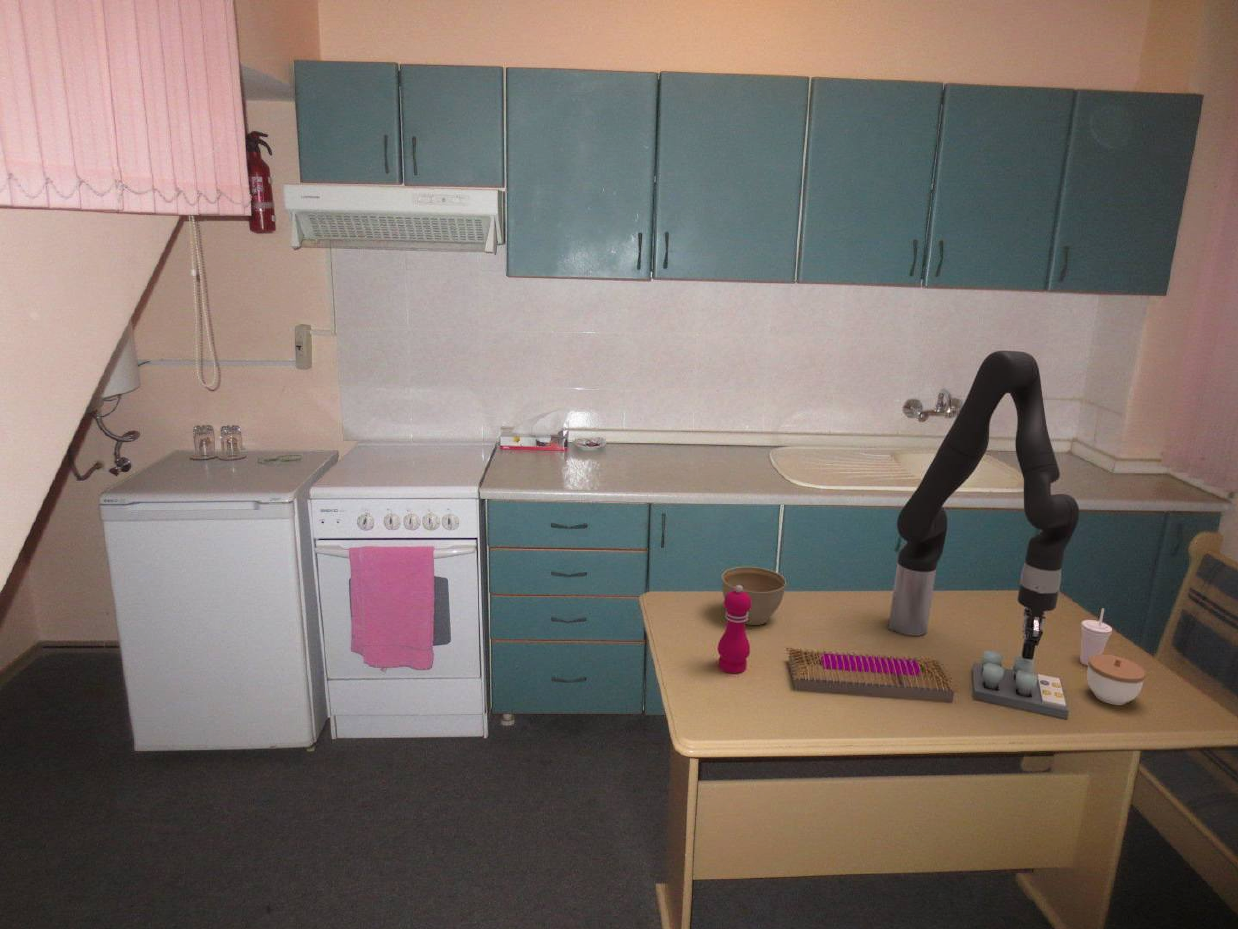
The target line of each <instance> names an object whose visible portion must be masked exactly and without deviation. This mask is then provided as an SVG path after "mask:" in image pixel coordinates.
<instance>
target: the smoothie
mask: <svg viewBox="0 0 1238 929" xmlns="http://www.w3.org/2000/svg"><path fill="white" fill-rule="evenodd" d="M1104 613H1105V608H1101V611H1100V616H1099V620H1098V621H1097V620H1095V619H1085V620H1083V621H1081V624H1080V627H1081V640H1080V641H1081V644H1080V659H1079V660H1080V663H1081V664H1083V665H1084V666H1087V667H1088V665H1089V664H1088V662H1089V658H1090V657H1091V656H1093V655H1098V654H1104V650H1105V648H1106V645H1107V643H1108V640H1109V637H1110V635H1112V634H1113V627H1111V626H1110V625H1108V624H1107V623H1105V622H1103V618H1104Z"/></svg>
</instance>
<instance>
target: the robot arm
mask: <svg viewBox="0 0 1238 929" xmlns="http://www.w3.org/2000/svg"><path fill="white" fill-rule="evenodd" d="M1040 373H1041V372H1040V368H1039V365H1038V363H1037V360H1036V359H1035V357H1034V356H1032V355H1031V353H1028V352H1024V351H1020V350H1019V351H1016V350H996V351H993V352H991V353H990V354H988V355H987V356H986V357H985V359H983V362H981V364H980V366H979V368H978V369H977V372H976V375H975V378H974V379H973V382H972V384H971V386H970V389H969V392H968V394H967V396H966V398H965V401H964V403H963V405H962V406H961V408H960V409H959V412H958V414H957V416H956V418H955V419H954V421H953V424H952V425H951V427H950V429H949V430H948V432H947V434H946V435H945V437H944V439H943V440H942V442H941V444H940V446H939V447H938V449H937V452H936V454H935V456H934V458H933V459H932V461H931V463H930V464H929V467H927V470H926V472H925V474H924V475H923V478H922V480H921V481H920V483H919V484H918V486H917V488H916V490H915V491H914V493H913V494H912V495H911V497H910V498H909V499H908V501H907V502H906V503H905V505H904V506H903V507H902V509H901V510H900V512H899V514H898V517H897V520H896V528H897V531H898V534H899V536H900V538H902V539H903V540H904V541H905V542H906V543H905V545H904V546H903V547H902V548H901V549H900V551H899V552H898V557H897V563H896V564H897V565H896V572H895V578H894V585H893V591H892V592H893V593H892V598H891V605H890V613H889V619H888V627H887V628H888V630H892V631H894V632H895V633H896V632H897V633H899V634H901V635H906V636H912V637H917V636H918V637H919V636H924V635H925V634H926V633H927V632H928V626H929V621H930V613H931V607H932V600H933V593H934V586H935V580H936V573H937V568H938V563H939V561H940V559H941V558H942V556H943V550H944V546H945V540H946V537H947V531H948V525H949V524H948V516H947V513H946V511H945V509H944V507H943V506H944V505H945V503H946V502H947V500H948V499H949V498H950V497H951V496H952V495H953V494H954V493H955V492H956V491H957V490H958V489H959V488H960V487H961V486H962V485H963V484H964V483H965V482H966V481H967V480H968V479H969V477H971V475H973V473H974V472H975V470H976V468H978V465H979V464H980V462H981V460H982V459H983V457H984V455H985V453H986V452H987V449H988V447H989V442H990V427H991V426H990V425H991V419H992V417H993V414H994V413H995V411H996V409H997V407H998V406H999V404H1000V402H1001V401H1002V399H1003V398H1004V397H1005V395H1006V394H1010V397H1011V399H1012V401H1013V403H1014V407H1015V409H1016V415H1017V418H1016V419H1017V424H1016V425H1017V426H1016V433H1015V443H1014V445H1015V453H1016V458H1017V461H1018V464H1019V468H1020V471H1021V475H1022V478H1023V509H1024V514H1025V516H1026V520H1027V521H1028V522H1029V523H1030V524H1031V526H1033V527H1034V528H1035V529H1037V530H1040V531H1041V530H1042V531H1041V532H1039V533H1038V534H1036V535H1035V536H1033V537H1031V538H1030V539H1029V541H1028V543H1027V549H1026V552H1025V553H1026V555H1025V562H1024V565H1023V567H1022V571H1021V577H1020V583H1019V586H1018V587H1019V589H1018V594H1017V602H1018V603H1019V604H1020V605H1021V606H1022V607H1024V608H1023V611H1022V612H1023V613H1022V614H1023V621H1022V634H1023V635H1022V639H1023V640H1022V641H1023V644H1022V650H1021V657H1022V658H1024V659H1029V660H1033V659H1034V656H1035V651H1036V650H1035V649H1036V647H1038V645H1040V641H1041V638H1042V637H1043V634H1044V630H1043V628H1044V627H1043V626H1044V625H1045V623H1046V616H1045V612H1051V611H1053V610H1055V609H1056V607H1057V603H1058V599H1059V598H1058V597H1059V593H1060V588H1061V587H1060V586H1061V583H1062V582H1061V581H1062V569H1063V568H1062V567H1063V562H1064V555H1065V550H1066V548H1067V546H1068V545H1069V543H1070V541H1071V539H1072V537H1073V535H1074V532H1075V530H1076V528H1077V526H1078V523H1079V520H1080V508H1079V504H1078V502H1077V501H1076V500H1075V498H1074V497H1073V496H1071V495H1069V494H1066V493H1057V494H1051V492H1052V490H1051V487H1052V486H1051V484H1053V483H1055V482H1057V481H1058V480H1059V479H1060V477H1061V474H1060V473H1061V472H1060V468H1059V465H1058V462H1057V458H1056V455H1055V452H1054V449H1053V446H1052V442H1051V439H1050V435H1049V430H1048V426H1047V420H1046V412H1045V406H1044V405H1045V404H1044V397H1043V390H1042V382H1041V380H1042V379H1041V374H1040Z"/></svg>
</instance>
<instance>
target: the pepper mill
mask: <svg viewBox="0 0 1238 929" xmlns="http://www.w3.org/2000/svg"><path fill="white" fill-rule="evenodd" d="M723 600H724V601H723V605H724V608H725V616H724V617H725V619H726V628H725V631H724V632H723V634H722V636H721V638H720V639H719V641H718V644H717V652H718V655H719V658H718V667H719V669H720V670H722V671H723V672H726V673H729V674H741V673H744V672H745V671H746V670H747V664H748V661H747V660H746V659H748V658H749V656H750V655H751V647H750V646H751V645H750V642H749V639H748V637H747V633H746V624H745V621H747V620H748V611H749V610H750V608H751V598H750V596H749V595H748V594H747V593H746V592H744V591H743V587H742V586H741V585H737V586H736V587H735V590H734V591H731V592H729V593H728V594H727V595H726V597H725V599H723Z"/></svg>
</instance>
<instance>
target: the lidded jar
mask: <svg viewBox="0 0 1238 929" xmlns="http://www.w3.org/2000/svg"><path fill="white" fill-rule="evenodd" d="M1088 664H1089V665H1088V666H1087V672H1086V679H1087V683H1088V686H1089V688H1090V691H1092V692H1093V694H1094V696H1095V697H1096V698H1097V699H1098V700H1099V701H1101V702H1103V703H1106V704H1110V705H1113V706H1123V705H1126V703H1129V702H1131V701H1133V700H1135V698H1137V697H1138V696H1139V694H1140V692H1141V689H1142V688H1143V684H1144V681H1145V678H1146V675H1147V674H1146V670H1144V668H1143V667H1142V666H1141V665H1139V664H1137V662H1133V661H1132V660H1129V659H1127V658H1124V657H1122V656H1121V657H1120V656H1117V655H1112V654H1106V653H1105V654H1104V653H1102V654H1098V655H1093V656H1091V657H1090V658H1089V662H1088Z"/></svg>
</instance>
